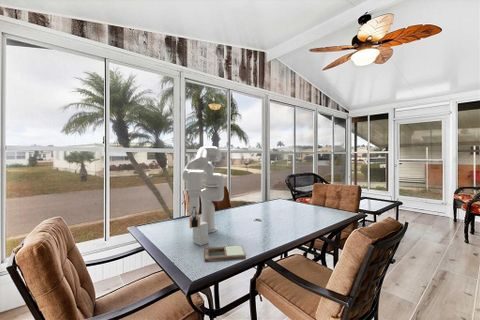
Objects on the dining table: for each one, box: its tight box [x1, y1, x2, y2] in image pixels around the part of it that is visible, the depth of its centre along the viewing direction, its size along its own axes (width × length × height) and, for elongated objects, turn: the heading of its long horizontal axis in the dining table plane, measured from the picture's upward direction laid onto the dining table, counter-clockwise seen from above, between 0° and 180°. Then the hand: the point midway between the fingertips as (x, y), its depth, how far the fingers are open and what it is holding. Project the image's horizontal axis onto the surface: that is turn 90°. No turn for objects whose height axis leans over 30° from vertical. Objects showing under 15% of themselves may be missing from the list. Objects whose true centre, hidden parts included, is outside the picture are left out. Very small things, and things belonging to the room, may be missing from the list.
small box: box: [192, 220, 209, 247], centre depth 142 cm, size 8×6×13 cm
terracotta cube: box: [189, 214, 201, 229], centre depth 124 cm, size 6×6×6 cm
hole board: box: [204, 245, 247, 263], centre depth 126 cm, size 14×22×2 cm, turn 98°
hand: (195, 224), depth 124 cm, fingers closed on terracotta cube, 5 cm apart
